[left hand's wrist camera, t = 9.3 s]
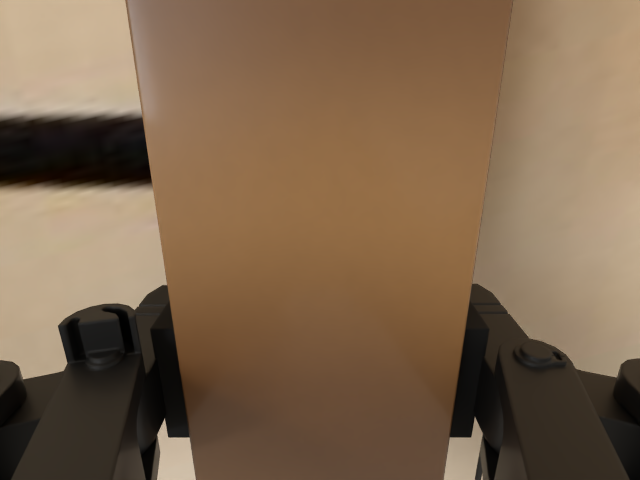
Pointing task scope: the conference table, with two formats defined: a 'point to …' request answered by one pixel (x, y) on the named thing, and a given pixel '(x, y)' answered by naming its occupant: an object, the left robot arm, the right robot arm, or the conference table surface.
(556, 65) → the conference table surface
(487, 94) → the beam
